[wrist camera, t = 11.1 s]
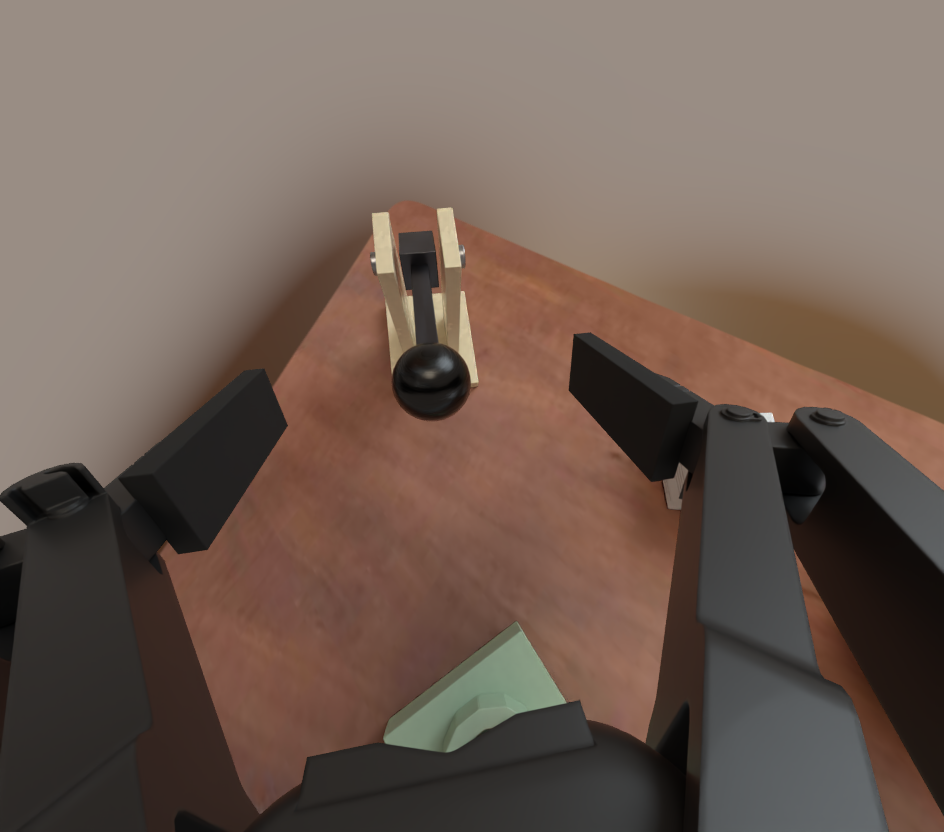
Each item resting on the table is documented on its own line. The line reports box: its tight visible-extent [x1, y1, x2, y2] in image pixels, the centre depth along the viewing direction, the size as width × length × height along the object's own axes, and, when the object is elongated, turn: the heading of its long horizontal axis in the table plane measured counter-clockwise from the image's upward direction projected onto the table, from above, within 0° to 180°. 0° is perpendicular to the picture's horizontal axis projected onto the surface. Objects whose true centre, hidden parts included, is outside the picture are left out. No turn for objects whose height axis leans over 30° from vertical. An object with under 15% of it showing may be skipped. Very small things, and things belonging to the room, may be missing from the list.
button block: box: [383, 621, 567, 752], centre depth 23 cm, size 12×10×4 cm
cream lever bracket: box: [370, 208, 478, 387], centre depth 27 cm, size 10×8×14 cm
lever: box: [392, 231, 471, 421], centre depth 18 cm, size 14×4×4 cm, turn 8°
